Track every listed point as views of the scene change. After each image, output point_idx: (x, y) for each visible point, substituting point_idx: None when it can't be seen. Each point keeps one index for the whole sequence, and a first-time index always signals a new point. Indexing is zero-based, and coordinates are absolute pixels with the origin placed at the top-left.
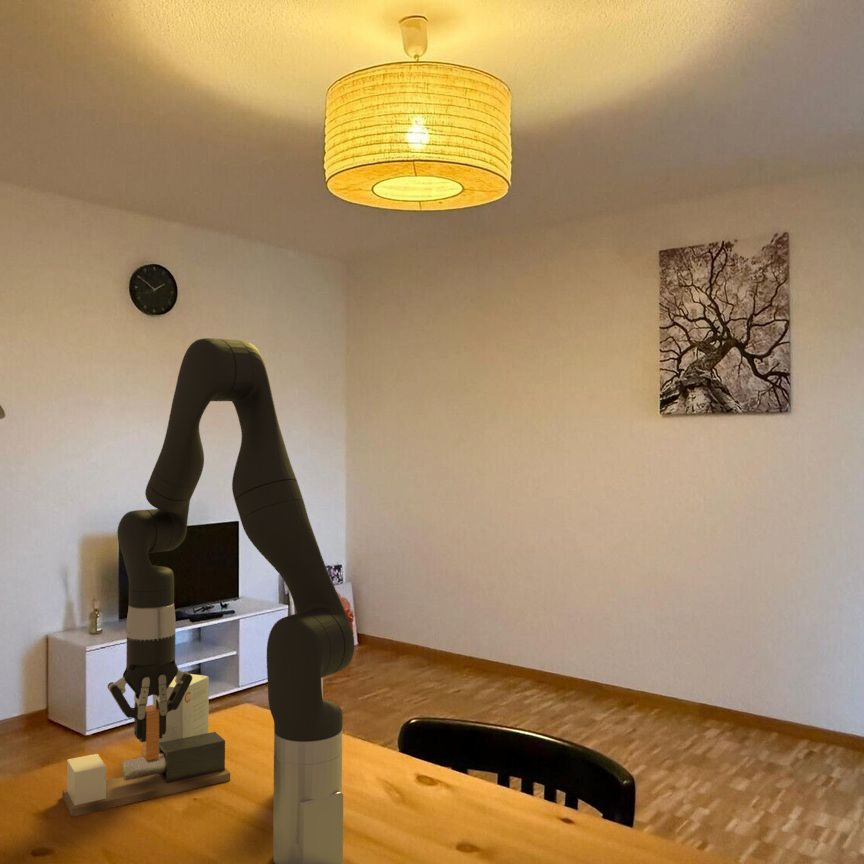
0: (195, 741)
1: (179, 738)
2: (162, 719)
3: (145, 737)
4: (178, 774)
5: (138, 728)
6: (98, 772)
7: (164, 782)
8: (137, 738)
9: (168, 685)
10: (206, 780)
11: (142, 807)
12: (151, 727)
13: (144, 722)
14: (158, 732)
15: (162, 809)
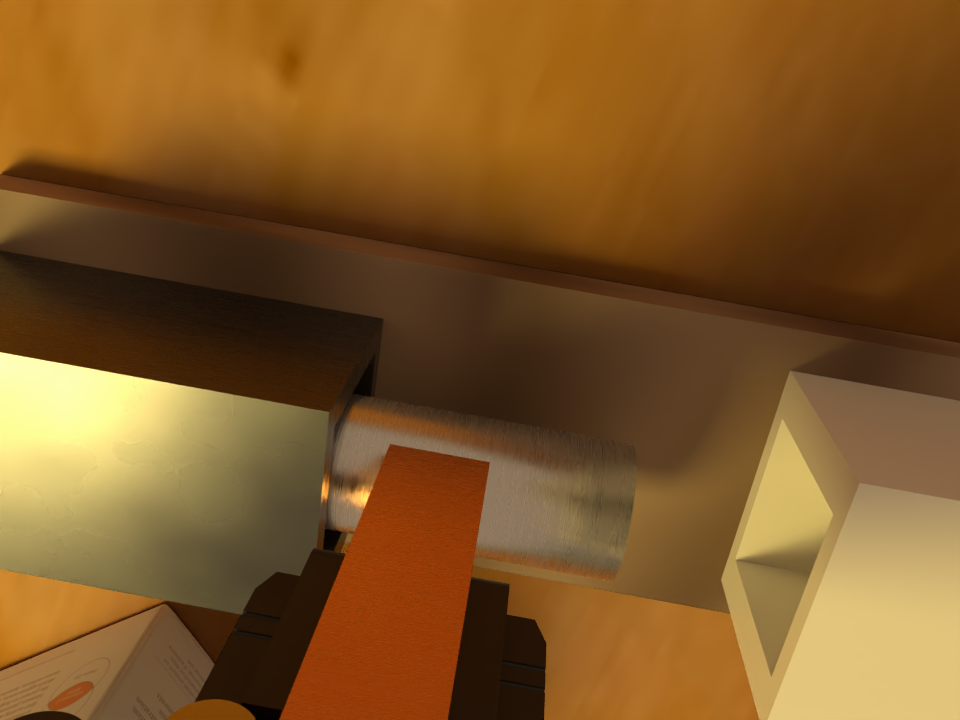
0: (50, 465)
1: (114, 715)
2: (254, 674)
3: (469, 596)
4: (293, 320)
5: (522, 698)
6: (905, 472)
7: (390, 342)
8: (536, 627)
9: None
10: (142, 209)
11: (617, 181)
12: (405, 633)
13: (464, 715)
14: (344, 573)
15: (533, 57)
